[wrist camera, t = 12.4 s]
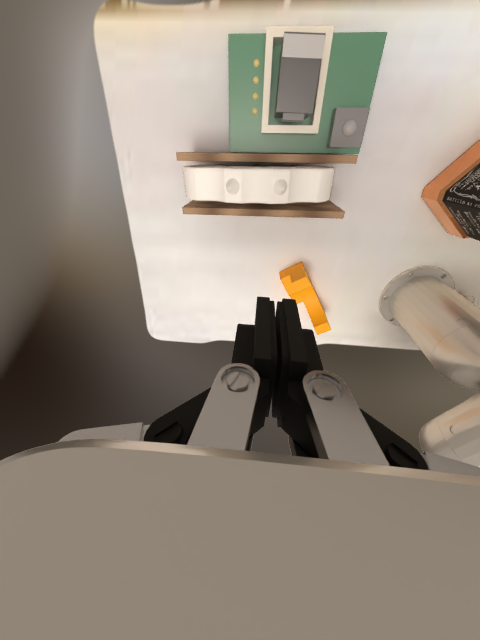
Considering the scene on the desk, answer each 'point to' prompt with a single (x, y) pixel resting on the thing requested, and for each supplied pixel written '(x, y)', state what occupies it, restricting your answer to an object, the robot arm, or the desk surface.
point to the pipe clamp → (305, 295)
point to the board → (330, 101)
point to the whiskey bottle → (458, 195)
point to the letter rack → (262, 209)
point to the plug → (298, 75)
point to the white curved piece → (258, 183)
